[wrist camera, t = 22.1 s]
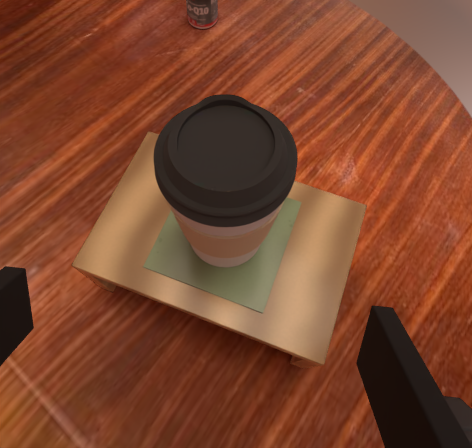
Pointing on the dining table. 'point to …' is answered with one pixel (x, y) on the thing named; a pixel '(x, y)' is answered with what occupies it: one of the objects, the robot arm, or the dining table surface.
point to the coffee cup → (225, 175)
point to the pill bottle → (202, 13)
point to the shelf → (231, 278)
